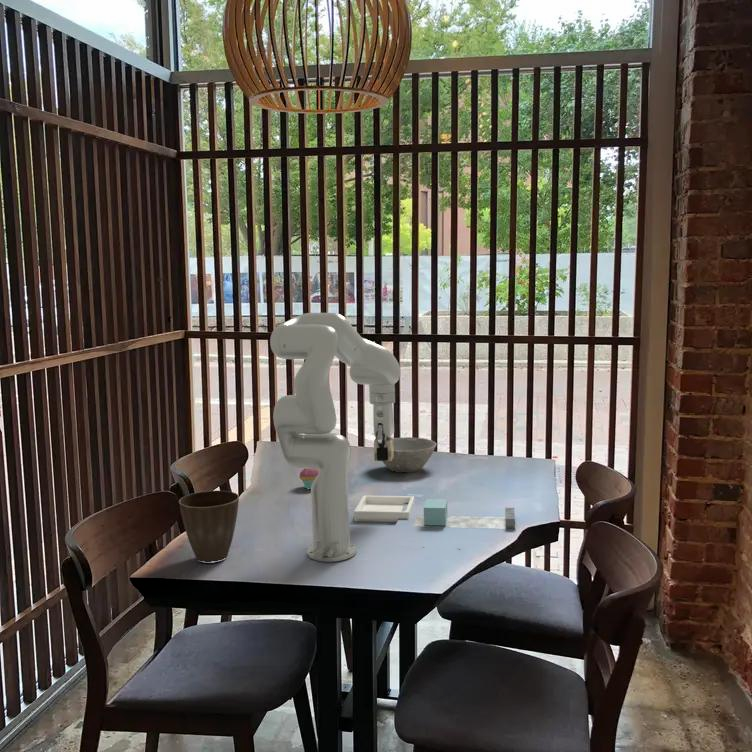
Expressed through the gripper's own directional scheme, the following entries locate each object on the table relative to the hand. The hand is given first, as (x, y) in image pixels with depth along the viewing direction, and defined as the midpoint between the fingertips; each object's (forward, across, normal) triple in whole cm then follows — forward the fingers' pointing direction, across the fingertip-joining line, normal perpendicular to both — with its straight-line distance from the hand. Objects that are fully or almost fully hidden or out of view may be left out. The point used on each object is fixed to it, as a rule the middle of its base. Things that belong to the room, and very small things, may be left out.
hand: (383, 457), depth 222 cm
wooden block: (0, 0, 0) cm, 0 cm away
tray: (+17, 0, 0) cm, 17 cm away
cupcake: (+17, +26, +29) cm, 43 cm away
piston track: (+17, -10, -24) cm, 31 cm away
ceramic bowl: (+18, +51, 0) cm, 54 cm away
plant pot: (+17, -40, +39) cm, 59 cm away
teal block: (+16, -10, -16) cm, 25 cm away
